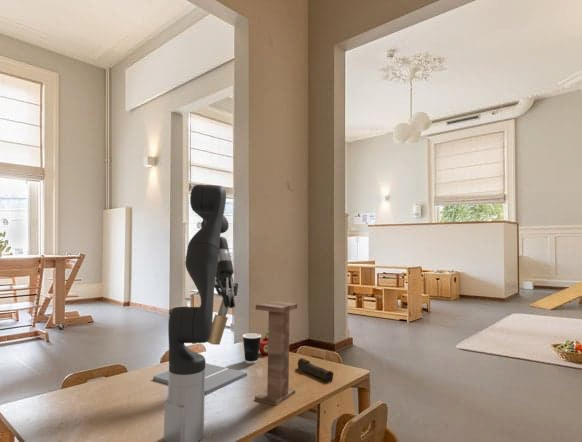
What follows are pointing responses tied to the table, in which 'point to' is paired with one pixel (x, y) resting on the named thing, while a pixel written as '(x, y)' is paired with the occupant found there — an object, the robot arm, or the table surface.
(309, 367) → the hand tool
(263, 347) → the apple
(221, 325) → the wood and grey bar
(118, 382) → the table surface
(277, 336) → the walnut stand
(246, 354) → the dixie cup
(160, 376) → the flat grey board
